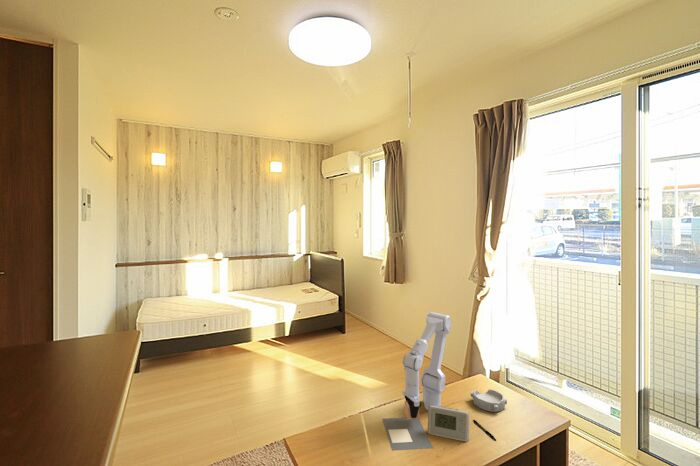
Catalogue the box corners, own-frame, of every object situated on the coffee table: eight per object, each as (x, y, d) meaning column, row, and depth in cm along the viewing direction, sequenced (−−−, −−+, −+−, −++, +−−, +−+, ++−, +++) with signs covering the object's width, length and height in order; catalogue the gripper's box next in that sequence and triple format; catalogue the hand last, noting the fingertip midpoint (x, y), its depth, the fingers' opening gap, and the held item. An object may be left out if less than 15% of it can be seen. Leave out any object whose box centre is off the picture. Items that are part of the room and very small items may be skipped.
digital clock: (425, 434, 135) (425, 409, 134) (431, 423, 142) (432, 399, 142) (466, 449, 126) (467, 421, 126) (471, 435, 134) (471, 410, 134)
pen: (471, 422, 144) (471, 419, 144) (474, 420, 145) (474, 418, 145) (493, 442, 131) (493, 440, 131) (497, 440, 131) (496, 438, 131)
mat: (382, 420, 144) (382, 418, 144) (418, 418, 145) (418, 416, 145) (392, 452, 124) (392, 450, 124) (433, 450, 125) (433, 447, 125)
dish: (466, 401, 160) (466, 391, 160) (487, 394, 166) (487, 385, 166) (490, 417, 147) (491, 406, 147) (512, 409, 153) (512, 399, 153)
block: (404, 412, 143) (404, 401, 143) (415, 411, 144) (415, 400, 143) (407, 419, 138) (407, 407, 138) (419, 418, 139) (419, 407, 138)
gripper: (398, 374, 147) (398, 404, 148) (407, 391, 133) (407, 424, 133) (414, 374, 148) (414, 403, 148) (424, 390, 133) (424, 423, 134)
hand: (411, 413), depth 141 cm, fingers closed on block, 5 cm apart
